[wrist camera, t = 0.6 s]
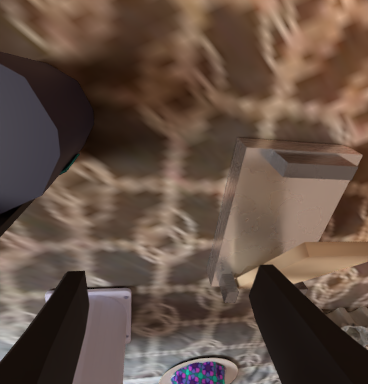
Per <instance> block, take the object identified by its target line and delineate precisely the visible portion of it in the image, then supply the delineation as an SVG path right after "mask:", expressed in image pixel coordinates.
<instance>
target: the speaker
mask: <svg viewBox="0 0 368 384" xmlns="http://www.w3.org/2000/svg"><path fill="white" fill-rule="evenodd" d="M93 125H94V118H93V109H92V107H91V105H90V103H89V101H88V100H87V98H86V96H85V94H84V92H83V90H82V88H81V87H80V85H79V83H78V81H76V80H75V79H73V78H71V77H69V76H68V75H66V74H64V73H63V72H61V71H59V70H58V69H56V68H54V67H53V66H51V65H49V64H47V63H43V62H39V61H35V60H31V59H27V58H23V57H19V56H15V55H11V54H7V53H3V52H0V237H1V236H2V235H3V233H4V232H5V231H6V230H7V229H8V228H9V227H10V226H11V225H12V224H13V222H14V221H15V220H16V219H17V218H18V217H19V216H20V215H21V214H22V213H23V212H24V210H25V209H26V208H27V207H28V206H29V205H30V204H31V203H32V202H33V201H34V199H35V198H37V197H39V196H42V195H43V193H44V192H45V191H46V190H47V189H48V188H49V186H50V185H51V184H52V183H53V182H54V181H55V179H56V178H57V177H58V176H59V175H61V174H63V173H65V172H67V170H68V169H69V168H70V166H71V165H72V164H73V163H74V161H75V160H76V159H77V157H78V156H79V155H80V154H79V151H80V150H81V149H82V148H83V146H84V144H85V142H86V139H87V137H88V135H89V133H90V131H91V129H92V127H93Z"/></svg>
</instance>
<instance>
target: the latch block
mask: <svg viewBox="0 0 368 384" xmlns="http://www.w3.org/2000/svg"><path fill="white" fill-rule="evenodd" d="M362 156H363V155H362V154H360V153H358V152H357V151H355V150H353V149H351V148H349V147H347V146H345V145H336V144H322V143H308V142H294V141H280V140H266V139H252V138H238V137H237V142H236V146H235V150H234V155H233V159H232V163H231V168H230V172H229V176H228V181H227V185H226V189H225V194H224V198H223V202H222V207H221V211H220V215H219V220H218V224H217V228H216V233H215V237H214V241H213V246H212V250H211V254H210V259H209V263H208V267H207V273H208V276H209V280H210V284H211V287H212V286H220V290H221V293H222V296H223V300H224V303H235V302H236V299H237V296H238V293H239V291H238V289H237V286H236V283H235V280H234V279H236V278H238V277H240V276H242V275H243V274H245V273H247V272H249V271H251V270H253V269H255V268H257V267H259V265H262V264H264V263H266V262H268V261H270V260H272V259H274V258H276V257H277V256H279V255H281V254H283V253H285V252H287V251H289V250H291V249H293V248H294V247H296V246H298V245H300V244H302V243H304V242H319V240H320V238H321V236H322V234H323V232H324V230H325V228H326V226H327V224H328V222H329V220H330V218H331V216H332V214H333V212H334V210H335V208H336V207H337V205H338V203H339V201H340V199H341V197H342V195H343V193H344V191H345V189H346V187H347V185H348V183H349V181H350V180H352V178H353V176H354V174H355V172H356V171H357V169H358V164H359V162H360V160H361V158H362ZM294 285H295V286H296V287H297V288H298V289H299V290H300V291H301V292H302V293H303V294H304V295H305V294H306V292H307V290H308V289H307V287H306V286H305V284H304V283H303V281H302V282H299V283H295V284H294Z"/></svg>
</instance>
